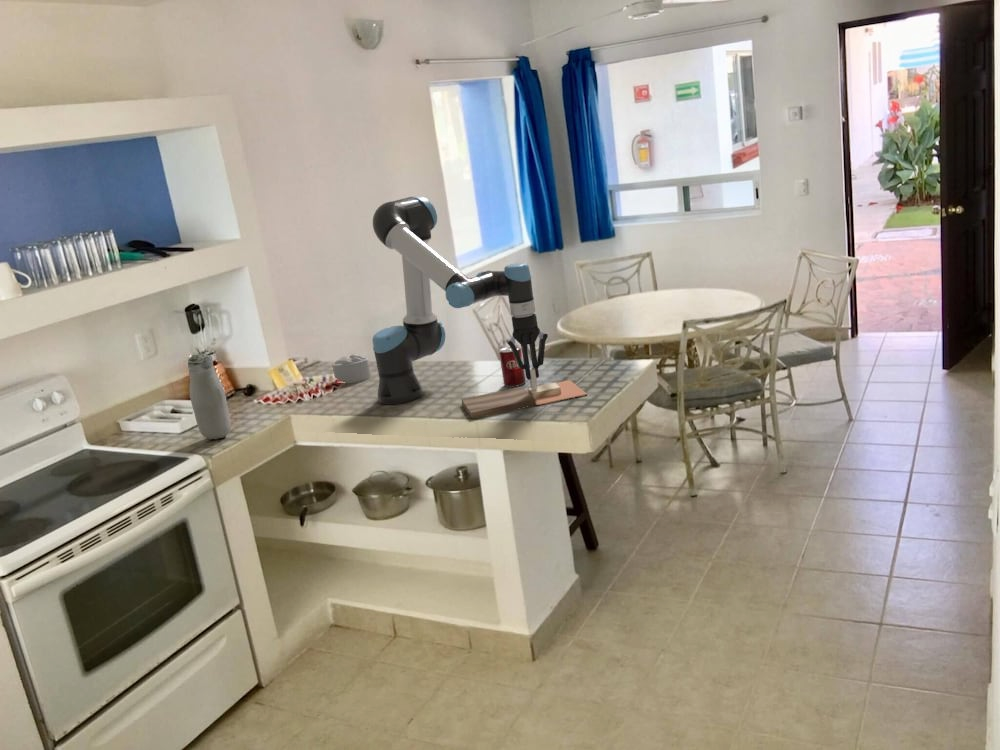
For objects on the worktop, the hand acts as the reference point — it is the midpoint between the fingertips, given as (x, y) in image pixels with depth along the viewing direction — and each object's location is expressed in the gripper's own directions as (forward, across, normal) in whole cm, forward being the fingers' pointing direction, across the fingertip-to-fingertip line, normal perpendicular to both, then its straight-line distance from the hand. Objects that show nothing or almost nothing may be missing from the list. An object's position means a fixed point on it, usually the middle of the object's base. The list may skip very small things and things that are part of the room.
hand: (534, 388), depth 276 cm
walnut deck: (+3, -12, 0) cm, 12 cm away
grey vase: (+3, -99, +28) cm, 103 cm away
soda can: (+3, -2, +19) cm, 19 cm away
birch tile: (+2, +3, 0) cm, 4 cm away
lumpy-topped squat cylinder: (+3, -52, +69) cm, 87 cm away
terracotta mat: (+3, +6, 0) cm, 7 cm away
